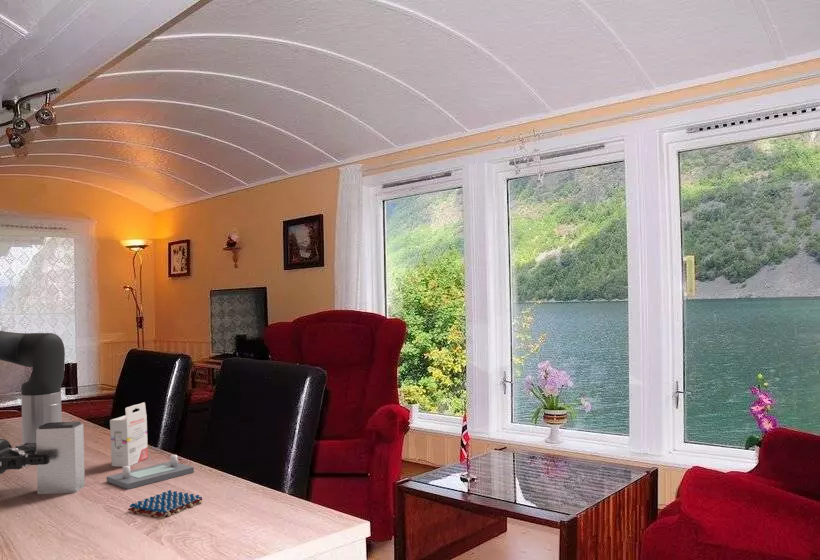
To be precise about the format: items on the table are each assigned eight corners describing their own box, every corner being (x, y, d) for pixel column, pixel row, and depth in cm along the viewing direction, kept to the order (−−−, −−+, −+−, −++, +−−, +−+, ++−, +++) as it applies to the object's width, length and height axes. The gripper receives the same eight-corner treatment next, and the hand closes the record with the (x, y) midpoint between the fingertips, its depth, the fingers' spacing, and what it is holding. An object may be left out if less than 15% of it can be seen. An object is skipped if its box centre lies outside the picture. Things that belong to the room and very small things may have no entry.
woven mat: (125, 515, 125) (124, 504, 126) (168, 498, 135) (168, 489, 135) (162, 522, 121) (162, 511, 121) (205, 505, 130) (204, 495, 130)
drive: (47, 488, 143) (46, 422, 144) (84, 486, 144) (83, 420, 144) (37, 494, 139) (36, 426, 139) (75, 492, 140) (74, 425, 140)
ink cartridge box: (131, 457, 169) (130, 401, 169) (148, 458, 168) (147, 401, 168) (110, 466, 160) (108, 407, 161) (127, 467, 159) (126, 407, 160)
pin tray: (127, 489, 140) (127, 472, 141) (106, 481, 147) (106, 465, 147) (193, 472, 153) (193, 456, 153) (171, 465, 159) (171, 450, 159)
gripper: (-40, 448, 133) (42, 444, 135) (-1, 433, 147) (72, 429, 149) (-39, 484, 133) (42, 480, 134) (-1, 466, 147) (73, 462, 149)
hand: (58, 453), depth 142 cm, fingers open, 8 cm apart
